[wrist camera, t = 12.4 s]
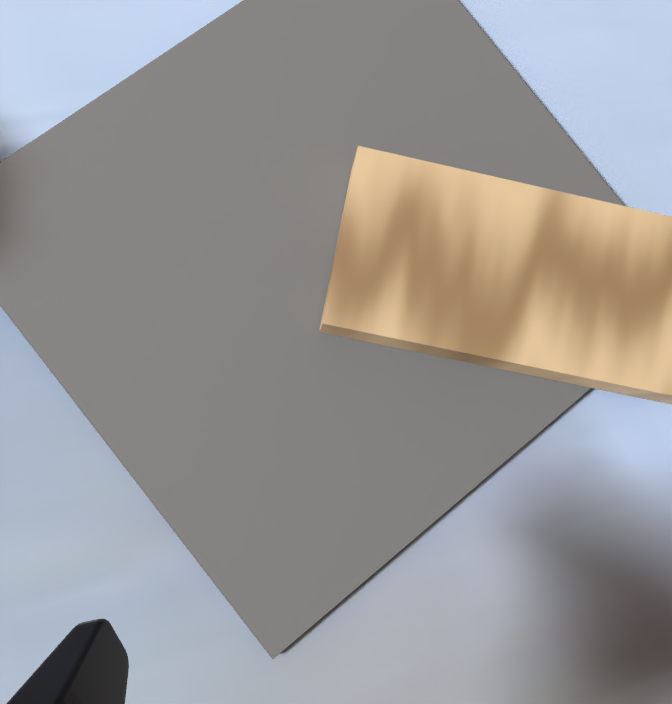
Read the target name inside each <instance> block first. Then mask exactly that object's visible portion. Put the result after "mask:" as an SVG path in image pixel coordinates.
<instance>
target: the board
mask: <svg viewBox="0 0 672 704" xmlns="http://www.w3.org/2000/svg"><path fill="white" fill-rule="evenodd" d="M319 332H322V333H327V334H332V335H336V336H341V337H346V338H351V339H356V340H361V341H366V342H370V343H375V344H380V345H385V346H390V347H395V348H400V349H405V350H409V351H414V352H419V353H424V354H429V355H434V356H439V357H444V358H448V359H453V360H458V361H463V362H468V363H473V364H478V365H483V366H487V367H492V368H497V369H502V370H507V371H512V372H517V373H522V374H526V375H531V376H536V377H541V378H546V379H551V380H556V381H561V382H565V383H570V384H575V385H580V386H585V387H590V388H595V389H600V390H604V391H609V392H614V393H619V394H624V395H629V396H634V397H639V398H643V399H648V400H653V401H658V402H663V403H668V404H672V217H670V216H666V215H662V214H657V213H653V212H648V211H644V210H640V209H635V208H631V207H626V206H622V205H617V204H613V203H609V202H604V201H600V200H595V199H591V198H587V197H582V196H578V195H573V194H569V193H565V192H560V191H556V190H551V189H547V188H542V187H538V186H534V185H529V184H525V183H520V182H516V181H512V180H507V179H503V178H498V177H494V176H490V175H485V174H481V173H476V172H472V171H468V170H463V169H459V168H454V167H450V166H445V165H441V164H437V163H432V162H428V161H423V160H419V159H415V158H410V157H406V156H401V155H397V154H393V153H388V152H384V151H379V150H375V149H370V148H366V147H362V146H358V148H357V151H356V155H355V159H354V162H353V166H352V170H351V174H350V179H349V184H348V189H347V194H346V199H345V204H344V209H343V214H342V219H341V224H340V229H339V234H338V239H337V244H336V249H335V254H334V259H333V264H332V269H331V274H330V279H329V284H328V289H327V294H326V299H325V304H324V309H323V314H322V319H321V324H320V329H319Z"/></svg>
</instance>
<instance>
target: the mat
mask: <svg viewBox="0 0 672 704" xmlns="http://www.w3.org/2000/svg"><path fill="white" fill-rule="evenodd" d="M358 146H362V147H366V148H370V149H375V150H379V151H384V152H388V153H393V154H397V155H401V156H406V157H410V158H415V159H419V160H423V161H428V162H432V163H437V164H441V165H445V166H450V167H454V168H459V169H463V170H468V171H472V172H476V173H481V174H485V175H490V176H494V177H498V178H503V179H507V180H512V181H516V182H520V183H525V184H529V185H534V186H538V187H542V188H547V189H551V190H556V191H560V192H565V193H569V194H573V195H578V196H582V197H587V198H591V199H595V200H600V201H604V202H609V203H613V204H617V205H622V206H624V204H623V203H622V202H621V201H620V200H619V198H618V197H617V196H616V195H615V193H614V192H613V191H612V190H611V188H610V187H609V186H608V185H607V183H606V182H605V181H604V180H603V179H602V177H601V176H600V175H599V174H598V172H597V171H596V170H595V169H594V167H593V166H592V165H591V164H590V162H589V161H588V160H587V159H586V158H585V156H584V155H583V154H582V153H581V151H580V150H579V149H578V148H577V146H576V145H575V144H574V143H573V141H572V140H571V139H570V138H569V137H568V135H567V134H566V133H565V132H564V130H563V129H562V128H561V127H560V125H559V124H558V123H557V122H556V120H555V119H554V118H553V117H552V116H551V114H550V113H549V112H548V111H547V109H546V108H545V107H544V106H543V104H542V103H541V102H540V101H539V99H538V98H537V97H536V96H535V95H534V93H533V92H532V91H531V90H530V88H529V87H528V86H527V85H526V83H525V82H524V81H523V80H522V78H521V77H520V76H519V75H518V74H517V72H516V71H515V70H514V69H513V67H512V66H511V65H510V64H509V62H508V61H507V60H506V59H505V57H504V56H503V55H502V54H501V53H500V51H499V50H498V49H497V48H496V46H495V45H494V44H493V43H492V41H491V40H490V39H489V38H488V36H487V35H486V34H485V33H484V32H483V30H482V29H481V28H480V27H479V25H478V24H477V23H476V22H475V20H474V19H473V18H472V17H471V15H470V14H469V13H468V12H467V11H466V9H465V8H464V7H463V6H462V4H461V3H460V2H459V1H458V0H243V1H242V2H240V3H239V4H237V5H236V6H234V7H233V8H231V9H230V10H228V11H227V12H225V13H224V14H222V15H221V16H219V17H218V18H216V19H215V20H213V21H212V22H210V23H209V24H207V25H206V26H204V27H203V28H201V29H200V30H198V31H197V32H195V33H194V34H192V35H191V36H189V37H188V38H186V39H185V40H183V41H182V42H180V43H179V44H177V45H176V46H174V47H173V48H171V49H170V50H168V51H167V52H165V53H164V54H162V55H161V56H159V57H158V58H156V59H155V60H153V61H152V62H150V63H149V64H147V65H146V66H144V67H143V68H141V69H140V70H138V71H137V72H135V73H134V74H132V75H131V76H129V77H128V78H126V79H125V80H123V81H122V82H120V83H119V84H117V85H116V86H114V87H113V88H111V89H110V90H108V91H107V92H105V93H104V94H102V95H101V96H99V97H98V98H96V99H95V100H93V101H92V102H90V103H89V104H87V105H86V106H84V107H83V108H81V109H80V110H78V111H77V112H75V113H74V114H72V115H71V116H69V117H68V118H66V119H65V120H63V121H62V122H60V123H59V124H57V125H56V126H54V127H53V128H51V129H50V130H48V131H47V132H45V133H44V134H42V135H41V136H39V137H38V138H36V139H35V140H33V141H32V142H30V143H29V144H27V145H26V146H24V147H23V148H21V149H20V150H18V151H17V152H15V153H14V154H12V155H11V156H9V157H8V158H6V159H5V160H3V161H2V162H0V306H1V307H2V309H3V310H4V311H5V312H6V314H7V315H8V316H9V318H10V319H11V320H12V322H13V323H14V324H15V325H16V327H17V328H18V329H19V331H20V332H21V333H22V335H23V336H24V337H25V338H26V340H27V341H28V342H29V344H30V345H31V346H32V348H33V349H34V350H35V351H36V353H37V354H38V355H39V357H40V358H41V359H42V360H43V362H44V363H45V364H46V366H47V367H48V368H49V370H50V371H51V372H52V373H53V375H54V376H55V377H56V379H57V380H58V381H59V383H60V384H61V385H62V386H63V388H64V389H65V390H66V392H67V393H68V394H69V396H70V397H71V398H72V399H73V401H74V402H75V403H76V405H77V406H78V407H79V409H80V410H81V411H82V412H83V414H84V415H85V416H86V418H87V419H88V420H89V422H90V423H91V424H92V425H93V427H94V428H95V429H96V431H97V432H98V433H99V434H100V436H101V437H102V438H103V440H104V441H105V442H106V444H107V445H108V446H109V447H110V449H111V450H112V451H113V453H114V454H115V455H116V457H117V458H118V459H119V460H120V462H121V463H122V464H123V466H124V467H125V468H126V470H127V471H128V472H129V473H130V475H131V476H132V477H133V479H134V480H135V481H136V483H137V484H138V485H139V486H140V488H141V489H142V490H143V492H144V493H145V494H146V496H147V497H148V498H149V499H150V501H151V502H152V503H153V505H154V506H155V507H156V509H157V510H158V511H159V512H160V514H161V515H162V516H163V518H164V519H165V520H166V521H167V523H168V524H169V525H170V527H171V528H172V529H173V531H174V532H175V533H176V534H177V536H178V537H179V538H180V540H181V541H182V542H183V544H184V545H185V546H186V547H187V549H188V550H189V551H190V553H191V554H192V555H193V557H194V558H195V559H196V560H197V562H198V563H199V564H200V566H201V567H202V568H203V570H204V571H205V572H206V573H207V575H208V576H209V577H210V579H211V580H212V581H213V583H214V584H215V585H216V586H217V588H218V589H219V590H220V592H221V593H222V594H223V595H224V597H225V598H226V599H227V601H228V602H229V603H230V605H231V606H232V607H233V608H234V610H235V611H236V612H237V614H238V615H239V616H240V618H241V619H242V620H243V621H244V623H245V624H246V625H247V627H248V628H249V629H250V631H251V632H252V633H253V634H254V636H255V637H256V638H257V640H258V641H259V642H260V644H261V645H262V646H263V647H264V649H265V650H266V651H267V653H268V654H269V655H270V657H271V658H272V659H274V658H275V657H276V656H277V655H279V654H280V653H281V652H282V651H283V650H284V649H286V648H287V647H288V646H289V645H290V644H291V643H293V642H294V641H295V640H296V639H297V638H298V637H300V636H301V635H302V634H303V633H304V632H306V631H307V630H308V629H309V628H310V627H311V626H313V625H314V624H315V623H316V622H317V621H318V620H320V619H321V618H322V617H323V616H324V615H325V614H327V613H328V612H329V611H330V610H331V609H333V608H334V607H335V606H336V605H337V604H338V603H340V602H341V601H342V600H343V599H344V598H345V597H347V596H348V595H349V594H350V593H351V592H352V591H354V590H355V589H356V588H357V587H358V586H360V585H361V584H362V583H363V582H364V581H365V580H367V579H368V578H369V577H370V576H371V575H372V574H374V573H375V572H376V571H377V570H378V569H379V568H381V567H382V566H383V565H384V564H385V563H387V562H388V561H389V560H390V559H391V558H392V557H394V556H395V555H396V554H397V553H398V552H399V551H401V550H402V549H403V548H404V547H405V546H406V545H408V544H409V543H410V542H411V541H412V540H414V539H415V538H416V537H417V536H418V535H419V534H421V533H422V532H423V531H424V530H425V529H426V528H428V527H429V526H430V525H431V524H432V523H433V522H435V521H436V520H437V519H438V518H439V517H440V516H442V515H443V514H444V513H445V512H446V511H448V510H449V509H450V508H451V507H452V506H453V505H455V504H456V503H457V502H458V501H459V500H460V499H462V498H463V497H464V496H465V495H466V494H467V493H469V492H470V491H471V490H472V489H473V488H475V487H476V486H477V485H478V484H479V483H480V482H482V481H483V480H484V479H485V478H486V477H487V476H489V475H490V474H491V473H492V472H493V471H494V470H496V469H497V468H498V467H499V466H500V465H502V464H503V463H504V462H505V461H506V460H507V459H509V458H510V457H511V456H512V455H513V454H514V453H516V452H517V451H518V450H519V449H520V448H521V447H523V446H524V445H525V444H526V443H527V442H529V441H530V440H531V439H532V438H533V437H534V436H536V435H537V434H538V433H539V432H540V431H541V430H543V429H544V428H545V427H546V426H547V425H548V424H550V423H551V422H552V421H553V420H554V419H556V418H557V417H558V416H559V415H560V414H561V413H563V412H564V411H565V410H566V409H567V408H568V407H570V406H571V405H572V404H573V403H574V402H575V401H577V400H578V399H579V398H580V397H581V396H583V395H584V394H585V393H586V392H587V391H588V390H590V389H591V388H590V387H585V386H580V385H575V384H570V383H565V382H561V381H556V380H551V379H546V378H541V377H536V376H531V375H526V374H522V373H517V372H512V371H507V370H502V369H497V368H492V367H487V366H483V365H478V364H473V363H468V362H463V361H458V360H453V359H448V358H444V357H439V356H434V355H429V354H424V353H419V352H414V351H409V350H405V349H400V348H395V347H390V346H385V345H380V344H375V343H370V342H366V341H361V340H356V339H351V338H346V337H341V336H336V335H332V334H327V333H322V332H319V329H320V324H321V319H322V314H323V309H324V304H325V299H326V294H327V289H328V284H329V279H330V274H331V269H332V264H333V259H334V254H335V249H336V244H337V239H338V234H339V229H340V224H341V219H342V214H343V209H344V204H345V199H346V194H347V189H348V184H349V179H350V174H351V170H352V166H353V162H354V159H355V155H356V151H357V148H358Z"/></svg>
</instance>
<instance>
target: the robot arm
mask: <svg viewBox="0 0 672 704" xmlns="http://www.w3.org/2000/svg"><path fill="white" fill-rule="evenodd" d="M128 668H129V663H128V656H127V653H126V650H125V649H124V647H123V645H122V643H121V642H120V640H119V638H118V636H117V635H116V633H115V631H114V629H113V627H112V626H111V624H110V623H109V621H107V620H106V619H97V620H92V621H87V622H82V623H80V624H78V625H77V626H75V627H74V628H73V629H72V630H71V632H70V633H69V634H68V635H67V636H66V637H65V638H64V639H63V641H62V642H61V643H60V644H59V645H58V646H57V647H56V648H55V650H54V651H53V652H52V653H51V654H50V655H49V656H48V657H47V659H46V660H45V661H44V662H43V663H42V664H41V665H40V667H39V668H38V669H37V670H36V671H35V672H34V673H33V674H32V676H31V677H30V678H29V679H28V680H27V681H26V682H25V683H24V685H23V686H22V687H21V688H20V689H19V690H18V691H17V692H16V694H15V695H14V696H13V697H12V698H11V699H10V700H9V701H8V703H7V704H125V697H126V688H127V678H128Z"/></svg>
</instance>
